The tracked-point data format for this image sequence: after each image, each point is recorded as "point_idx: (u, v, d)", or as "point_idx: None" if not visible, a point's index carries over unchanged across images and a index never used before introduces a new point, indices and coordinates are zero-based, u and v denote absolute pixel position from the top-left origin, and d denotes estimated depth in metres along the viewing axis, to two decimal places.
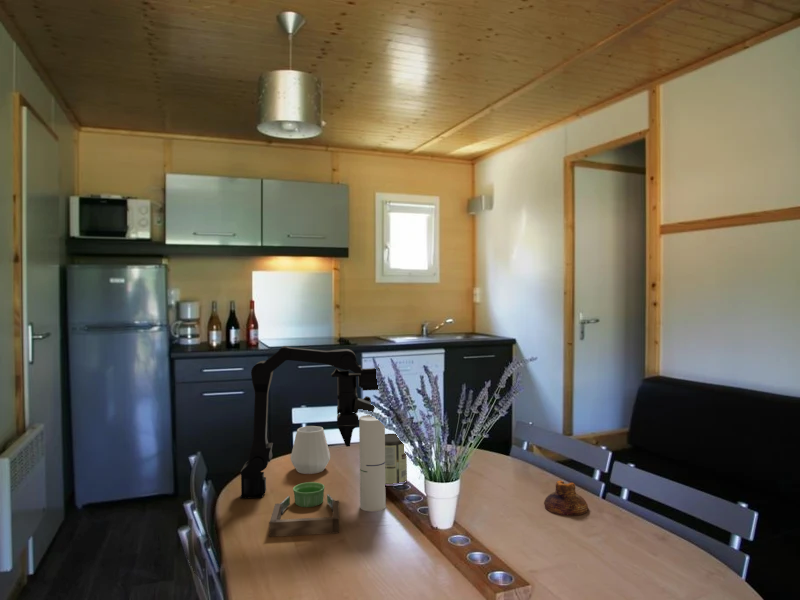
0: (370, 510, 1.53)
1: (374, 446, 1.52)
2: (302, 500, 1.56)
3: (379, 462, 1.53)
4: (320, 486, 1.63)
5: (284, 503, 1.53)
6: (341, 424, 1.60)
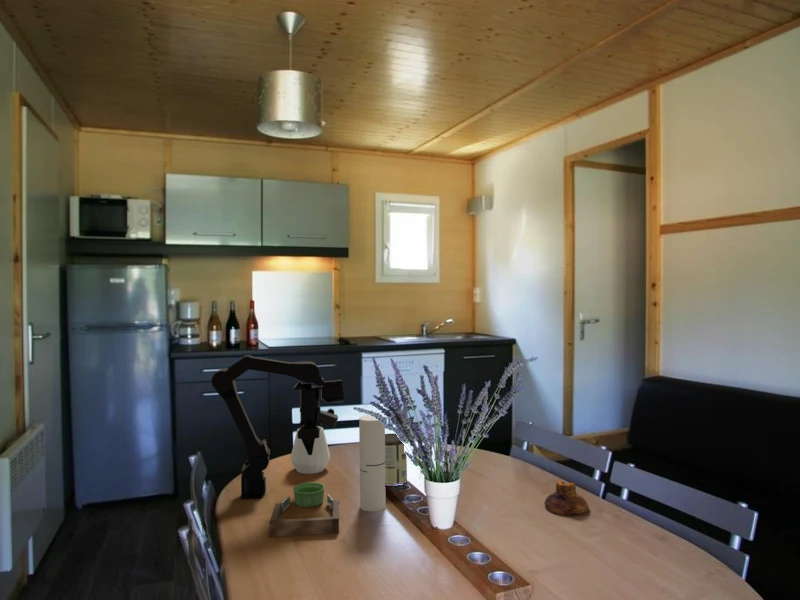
0: (370, 510, 1.53)
1: (374, 446, 1.52)
2: (302, 500, 1.56)
3: (379, 462, 1.53)
4: (320, 486, 1.63)
5: (284, 503, 1.53)
6: (301, 437, 1.60)
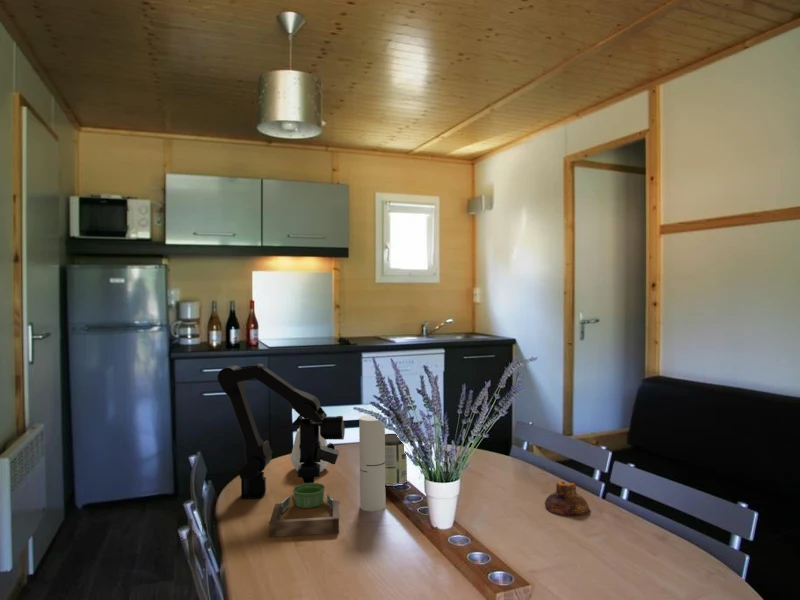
0: (370, 510, 1.53)
1: (374, 446, 1.52)
2: (302, 501, 1.55)
3: (379, 462, 1.53)
4: (320, 487, 1.62)
5: (284, 503, 1.53)
6: (302, 476, 1.56)
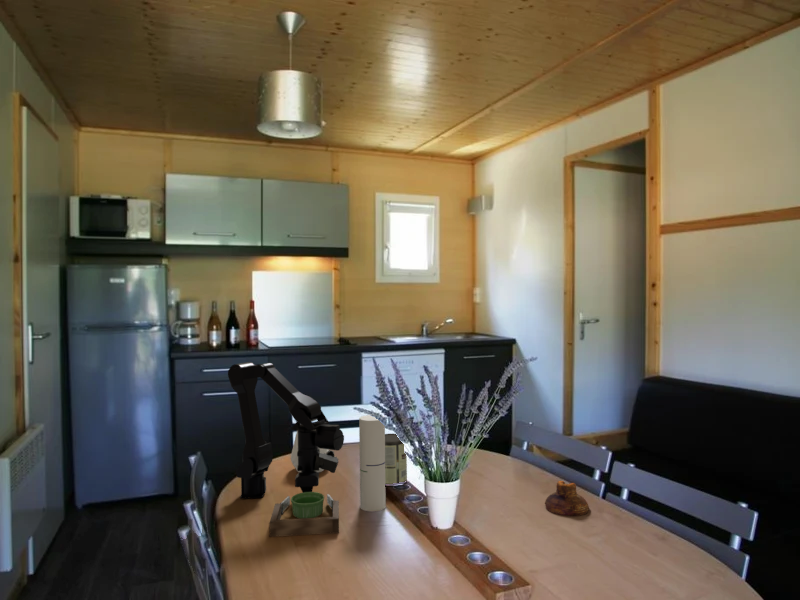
0: (370, 510, 1.53)
1: (374, 446, 1.52)
2: (301, 511, 1.48)
3: (379, 462, 1.53)
4: (319, 496, 1.54)
5: (284, 503, 1.53)
6: (299, 485, 1.48)
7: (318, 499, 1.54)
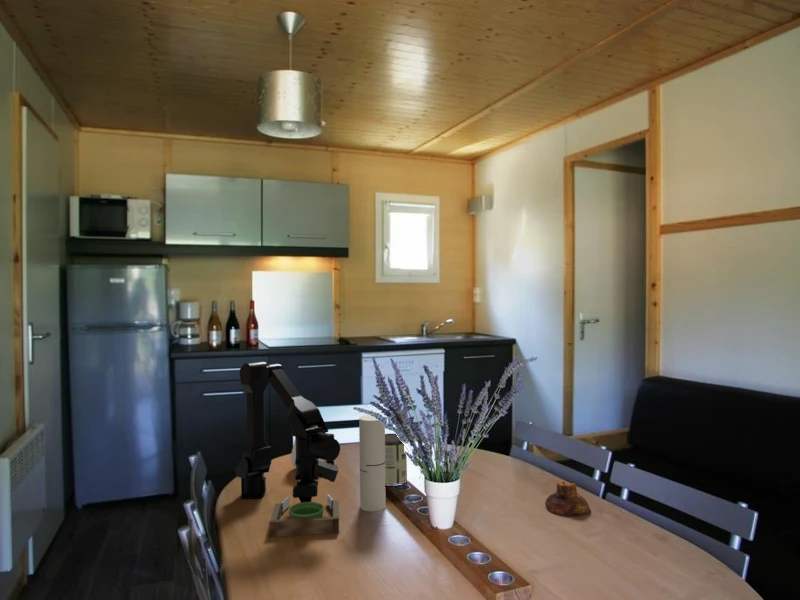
0: (370, 510, 1.53)
1: (374, 446, 1.52)
2: None
3: (379, 462, 1.53)
4: (318, 506, 1.47)
5: (284, 503, 1.53)
6: (297, 496, 1.41)
7: (317, 509, 1.47)
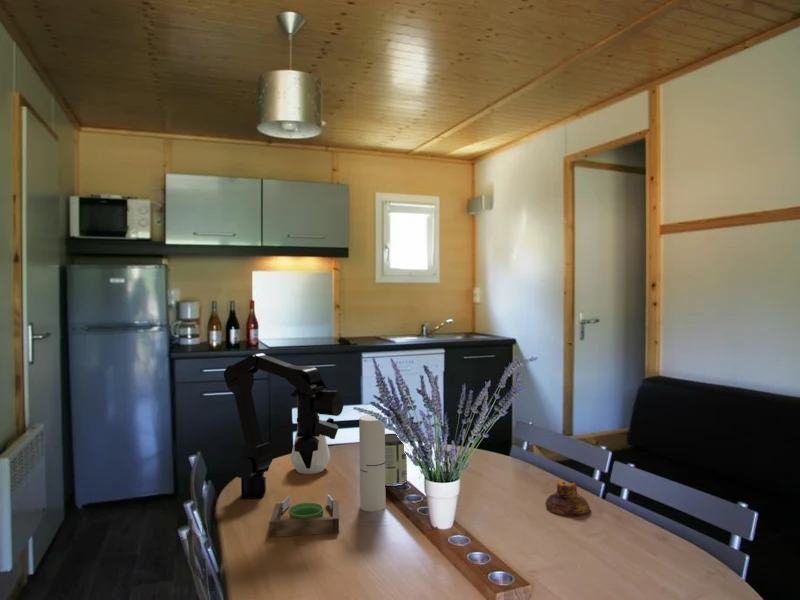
0: (370, 510, 1.53)
1: (374, 446, 1.52)
2: None
3: (379, 462, 1.53)
4: (318, 507, 1.47)
5: (284, 503, 1.53)
6: (299, 450, 1.47)
7: (317, 510, 1.47)
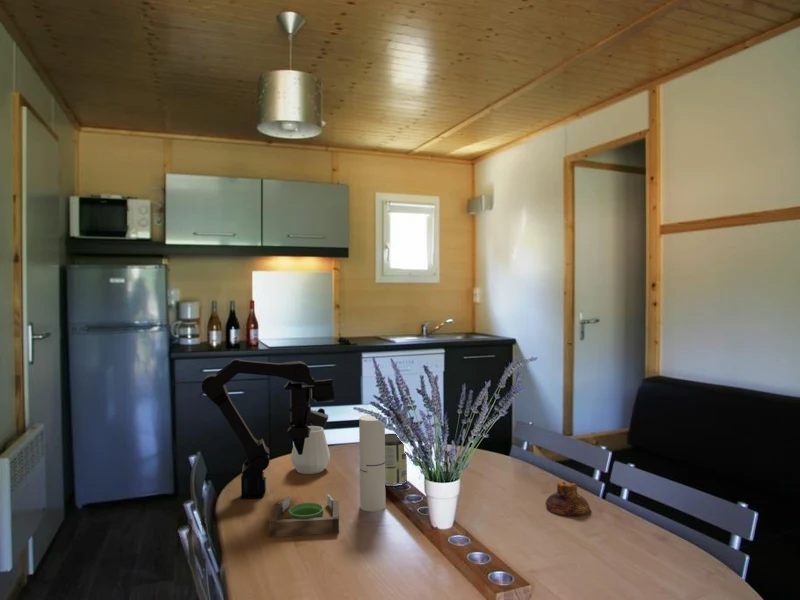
0: (370, 510, 1.53)
1: (374, 446, 1.52)
2: None
3: (379, 462, 1.53)
4: (318, 507, 1.47)
5: (284, 503, 1.53)
6: (291, 437, 1.60)
7: (317, 510, 1.47)
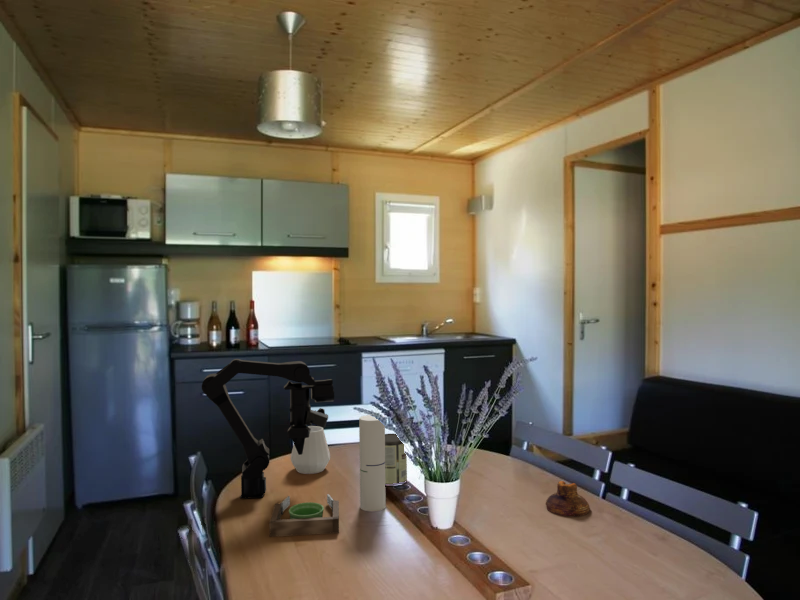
0: (370, 510, 1.53)
1: (374, 446, 1.52)
2: None
3: (379, 462, 1.53)
4: (318, 507, 1.47)
5: (284, 503, 1.53)
6: (291, 437, 1.60)
7: (317, 510, 1.47)
